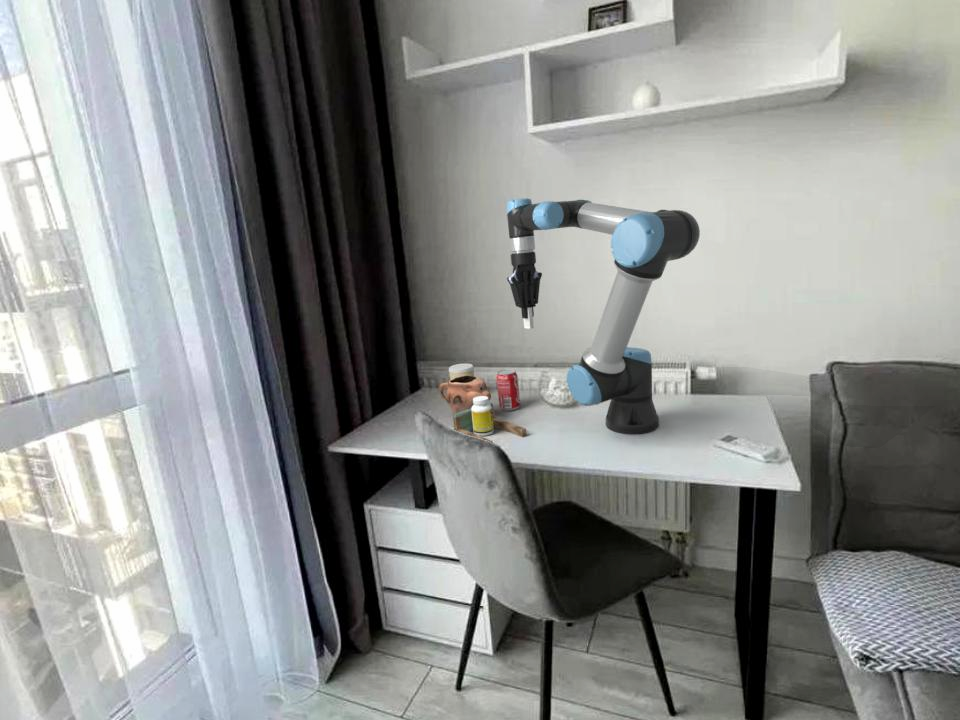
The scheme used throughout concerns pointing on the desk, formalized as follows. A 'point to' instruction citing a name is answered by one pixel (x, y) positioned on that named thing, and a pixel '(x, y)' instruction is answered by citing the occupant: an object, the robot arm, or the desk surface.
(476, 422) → the pill bottle
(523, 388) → the desk surface
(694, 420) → the desk surface
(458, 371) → the coffee cup
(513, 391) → the soda can
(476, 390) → the decorative planter
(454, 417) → the green panel wooden stand
